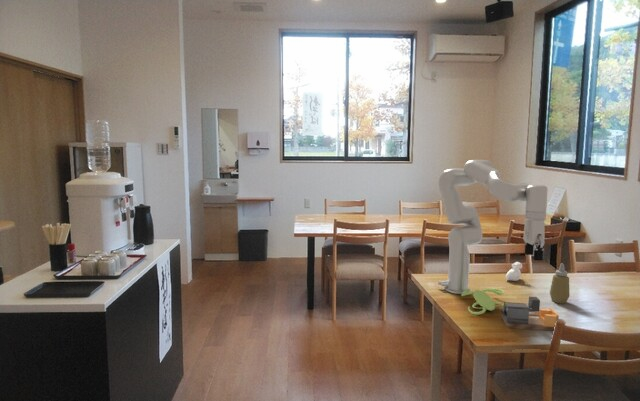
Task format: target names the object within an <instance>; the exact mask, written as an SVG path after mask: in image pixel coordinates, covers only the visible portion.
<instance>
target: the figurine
mask: <svg viewBox="0 0 640 401" xmlns="http://www.w3.org/2000/svg"><path fill="white" fill-rule="evenodd" d="M468 291H470V287H469V288H468V289H466V290H465V291H464V292H463V293H462V294H460V296H461V297H465V296H469V295H473V298H474V299H475V301H476V302H474V303H473V304H472V308H473V309H477V310H480V311H472V310H471V309H470V308H471V307H470V305H469V306H468V307H467V311H468V313H470V314H472V315H476V316H479V315H482V314H485V313H486V311H487V310H488V311H490V312H492V311H494V310H495V308H496V305H497V306H501V307H502V308H501V311H502V312H503V311H504V303H501V302H496V301H494V300H493V298H492V297H491V296H490V295H489V294H488V293H486V292H490V293H494V294H496V295H498V296H503V295H504V289H500V288H497V287H496V288H495V287H490V288H484V289H481V290H479V289H476V290H474V291H473V290H471V292H468ZM477 305H480V307H478V306H477ZM476 306H477V307H476Z"/></svg>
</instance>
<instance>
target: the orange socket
mask: <svg viewBox="0 0 640 401" xmlns="http://www.w3.org/2000/svg"><path fill="white" fill-rule="evenodd" d="M539 310H540V316H539V317H538V318H539V320H540V321H541V322H542V323H543V325H544V326H546V327H555V323H556V321H557V320H558V321H559V317H560V315H559V314H558V313H557V312H556V311H555V309H553V308H552V307H549V309H548V308H539Z"/></svg>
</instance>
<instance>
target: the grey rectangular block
mask: <svg viewBox="0 0 640 401" xmlns="http://www.w3.org/2000/svg"><path fill="white" fill-rule="evenodd" d="M527 304H528V305H527V306H528V307H529V317H534V318H539V316H540V310H539V309H541V308H540V306H541V300H540V299H539V298H538V297H537V296H529V295H528V303H527ZM506 314H507V307H506Z"/></svg>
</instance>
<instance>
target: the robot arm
mask: <svg viewBox="0 0 640 401" xmlns="http://www.w3.org/2000/svg"><path fill="white" fill-rule="evenodd" d="M501 178H502V176H501V172H500V171H499V170H498V169H496V168H494V165H493V163H492V162H491V161H490V160H487V159H471V160H468V161H467V162H465V164H464V165H463V168H449V169H445V170H444V171H443V172H441V174H440V175H439V178H438V188H439V191H440V194H441V197H442V200H443V205H444V209H445V214H446V215H445V216H446V218H447V221H448V223H450V224H451V225H463V226H457V227H454V228H452V229H451V230H449V232H448V235H447V238H448V239H447V240H448V246H449V250H448V251H449V254H448V255H449V256H448V258H449V260H448V272H447V275H448V276H447V278H446V280H437V285H440V286H442V287H443V289H444V290H445V291H446V292H447V293H451V294H455V295H461V294H462V293H463V292H464V291H465V290H466V289H468V288H470V287H469V279H470V278H469V275H470V264H471V263H470V262H471V261H470V258H471V256H470V251H469V249H468V247H470V246H475V245H479V244H480V243H481V242H482V240H483V228H482V225H481V221H480V217H479V213H478V210H477V209H476V208H475V207H474V205H471V204H463V201H462V196H461V194H460V192H459V190H457V188H456V187H464V186H466V187H468V186H471V185H474V184H476V183H479V184H481V185H483V186H485V187H486V188H487V190H488V191H489V193H490V194H491V195H493V196H495V197H496V198H498V199H500V200H501V201H505V202H507V203H517V202H518V203H519V202H525V212H524V213H525V214H524V215H525V216H524V220H525V221H524V228H523V238H522V239H523V241H524V255H526V256H527V255H528V256H529V255H530V256H533V260H534V261H544V251H545V250H544V248H545V243H546V242H545V238H546V236H545V234H546V233H545V231H546V230H545V221H546V220H547V206H548V204H547V203H548V187H547V186H546V185H543V184H530V183H509V182H508V181H507V182H506V181H504V180H503V179H501ZM471 291H472V288H470V291H468V292H471Z"/></svg>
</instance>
